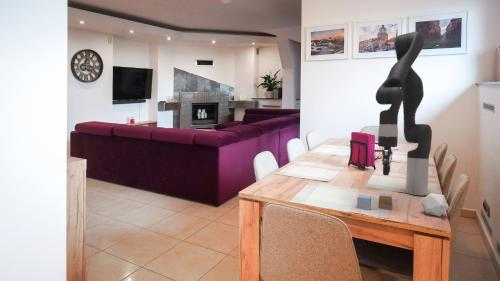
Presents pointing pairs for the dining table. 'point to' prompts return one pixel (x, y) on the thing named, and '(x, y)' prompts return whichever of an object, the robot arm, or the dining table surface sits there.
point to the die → (435, 204)
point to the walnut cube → (385, 202)
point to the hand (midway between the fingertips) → (386, 173)
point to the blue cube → (364, 202)
